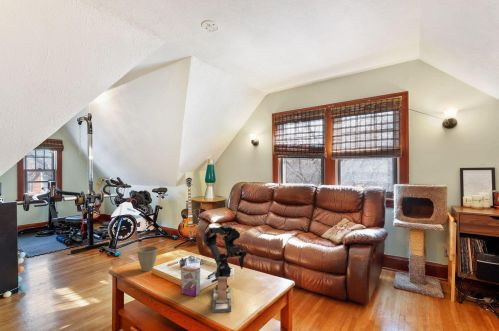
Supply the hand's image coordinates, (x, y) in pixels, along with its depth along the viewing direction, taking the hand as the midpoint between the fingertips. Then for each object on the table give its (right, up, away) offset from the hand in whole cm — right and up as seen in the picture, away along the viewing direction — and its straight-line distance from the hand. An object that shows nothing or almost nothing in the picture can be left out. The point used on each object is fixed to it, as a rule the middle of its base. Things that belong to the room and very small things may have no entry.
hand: (235, 270), depth 154 cm
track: (-7, -17, -5) cm, 19 cm away
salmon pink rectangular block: (-7, -15, -5) cm, 17 cm away
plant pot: (-70, -17, +43) cm, 84 cm away
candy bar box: (-28, -17, +5) cm, 33 cm away
